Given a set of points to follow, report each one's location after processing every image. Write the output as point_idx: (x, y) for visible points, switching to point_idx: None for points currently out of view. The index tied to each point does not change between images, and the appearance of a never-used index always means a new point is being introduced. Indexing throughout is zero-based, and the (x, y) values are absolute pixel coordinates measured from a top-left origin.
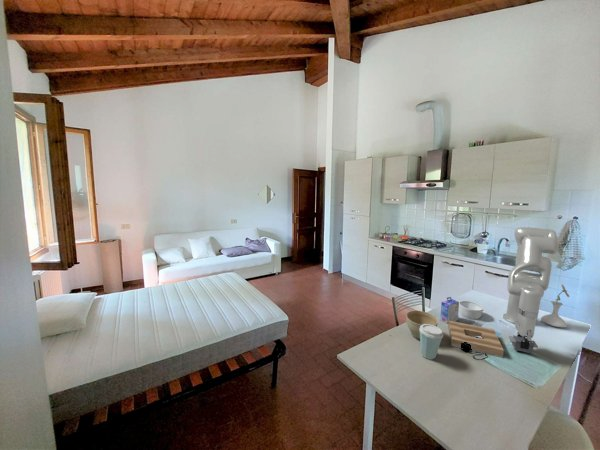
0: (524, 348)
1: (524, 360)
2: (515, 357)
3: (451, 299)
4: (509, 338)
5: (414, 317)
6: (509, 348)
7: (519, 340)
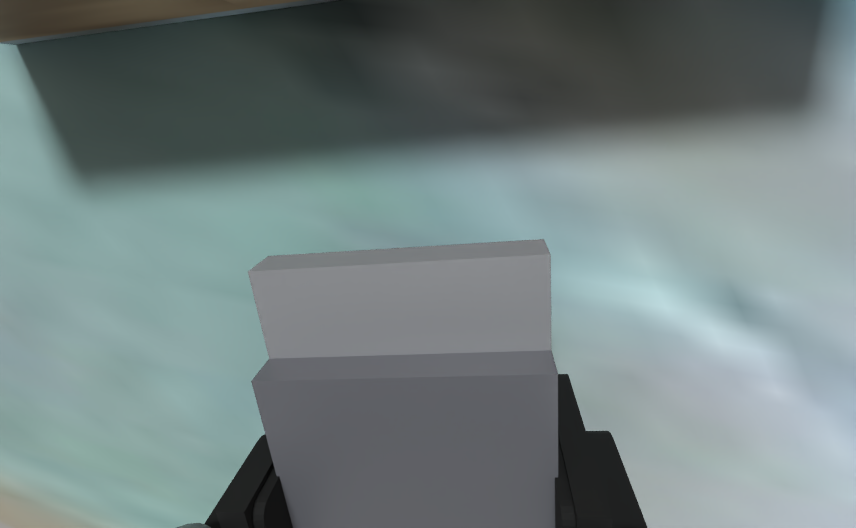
0: None
1: (186, 339)
2: (181, 242)
3: None
4: (462, 246)
5: None
6: (424, 203)
7: (330, 457)
